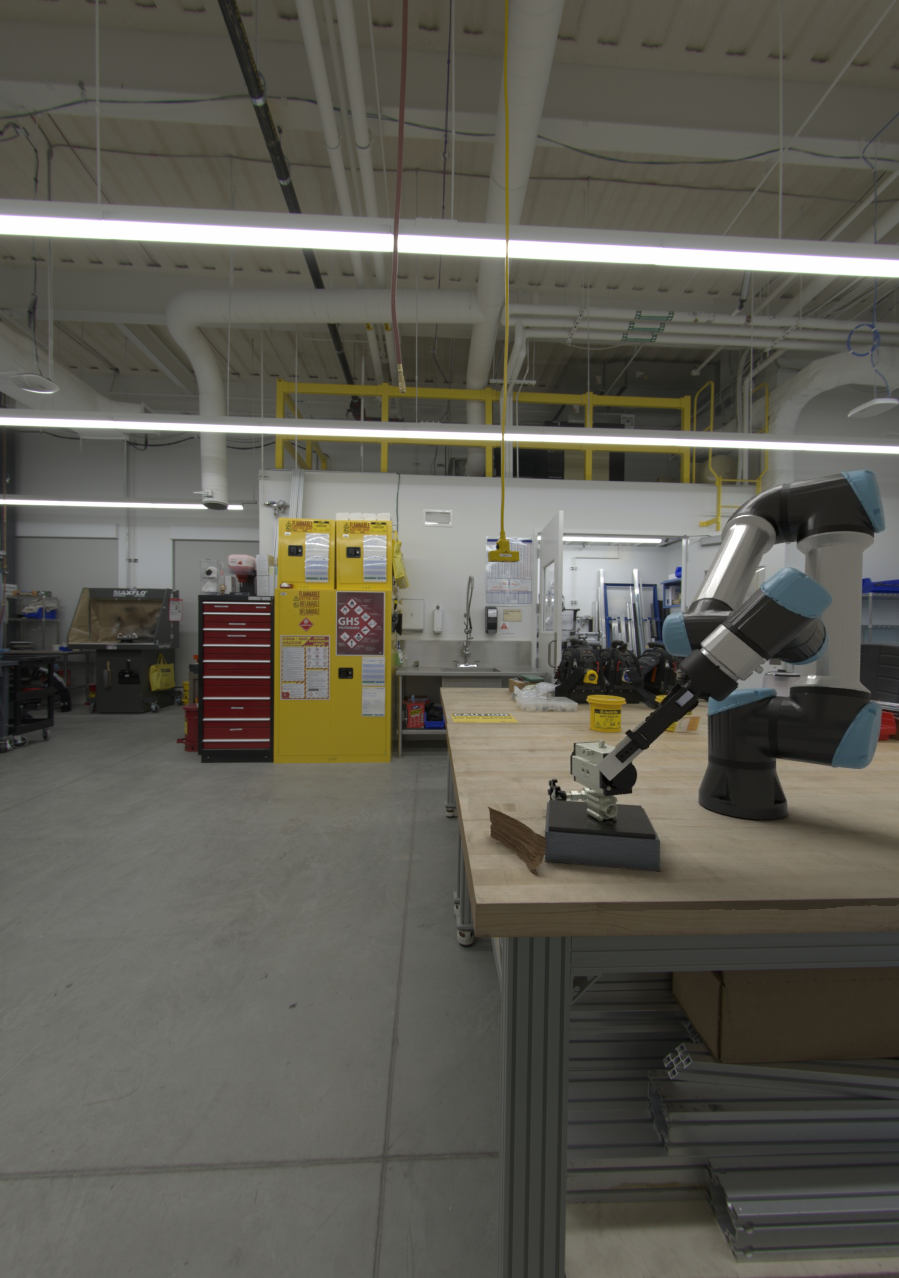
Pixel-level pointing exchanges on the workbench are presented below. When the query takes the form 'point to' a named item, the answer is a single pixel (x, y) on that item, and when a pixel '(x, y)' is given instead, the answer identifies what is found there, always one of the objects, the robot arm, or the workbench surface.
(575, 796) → the valve
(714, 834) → the workbench surface
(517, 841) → the wood plank
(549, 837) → the stand
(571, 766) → the pneumatic valve
